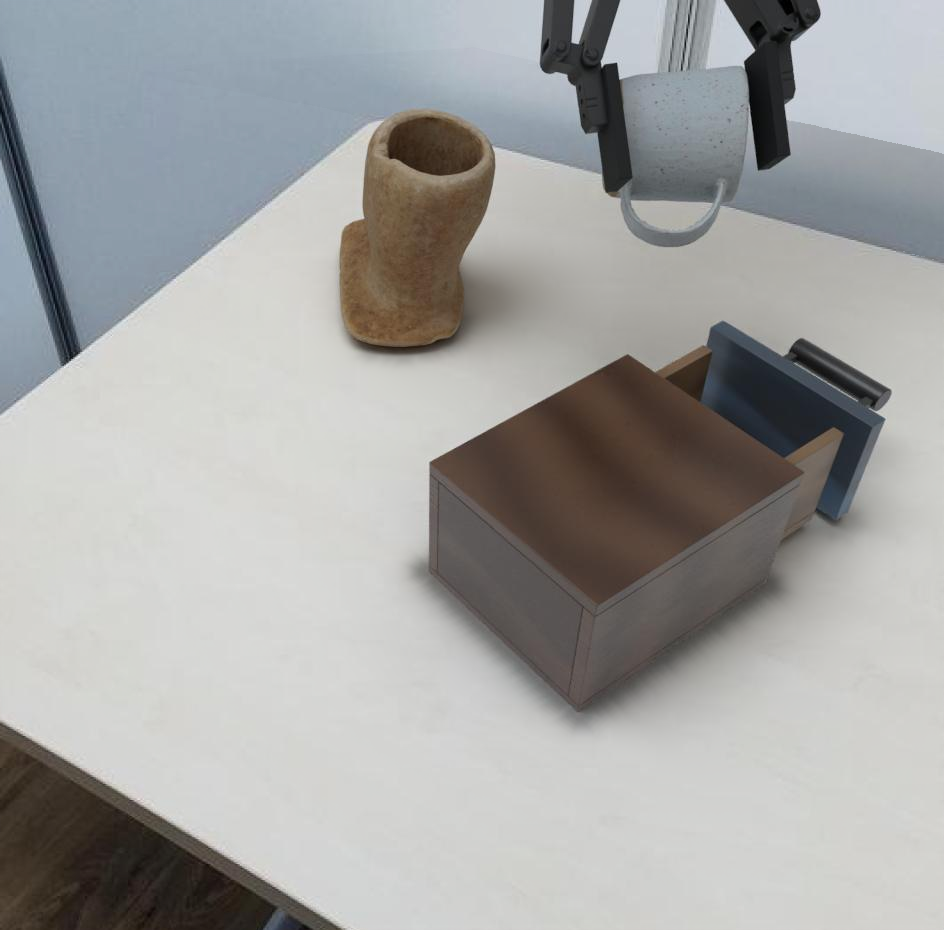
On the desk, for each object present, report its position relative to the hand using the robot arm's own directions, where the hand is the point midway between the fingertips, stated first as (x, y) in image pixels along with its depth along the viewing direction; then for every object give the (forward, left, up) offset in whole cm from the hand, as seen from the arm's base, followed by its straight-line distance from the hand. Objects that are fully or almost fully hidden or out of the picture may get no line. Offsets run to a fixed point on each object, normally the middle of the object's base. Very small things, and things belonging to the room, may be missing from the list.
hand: (696, 173), depth 67 cm
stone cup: (+16, -16, -19) cm, 30 cm away
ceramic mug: (0, -3, -4) cm, 5 cm away
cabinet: (+6, +15, -19) cm, 25 cm away
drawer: (-3, +9, -18) cm, 20 cm away
